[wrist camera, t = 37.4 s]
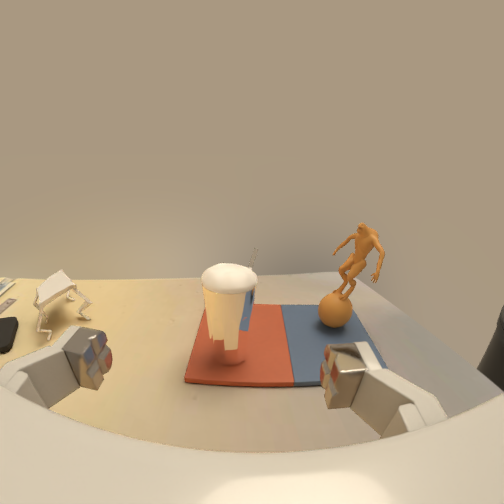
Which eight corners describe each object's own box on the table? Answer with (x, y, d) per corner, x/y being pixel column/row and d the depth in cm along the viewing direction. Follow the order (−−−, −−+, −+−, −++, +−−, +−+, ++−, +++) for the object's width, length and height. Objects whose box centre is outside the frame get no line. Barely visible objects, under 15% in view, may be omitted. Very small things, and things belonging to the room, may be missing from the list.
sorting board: (349, 308, 35) (350, 304, 35) (389, 377, 22) (390, 373, 21) (206, 306, 35) (206, 301, 35) (184, 382, 21) (184, 377, 21)
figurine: (302, 309, 33) (313, 214, 30) (343, 303, 35) (356, 215, 31) (334, 348, 26) (356, 233, 22) (378, 337, 27) (403, 233, 23)
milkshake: (269, 352, 25) (276, 255, 22) (227, 378, 22) (225, 271, 19) (237, 333, 28) (238, 242, 25) (196, 353, 25) (189, 254, 22)
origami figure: (100, 332, 27) (91, 294, 25) (38, 346, 22) (24, 308, 20) (90, 291, 36) (84, 260, 34) (42, 301, 31) (34, 270, 29)
